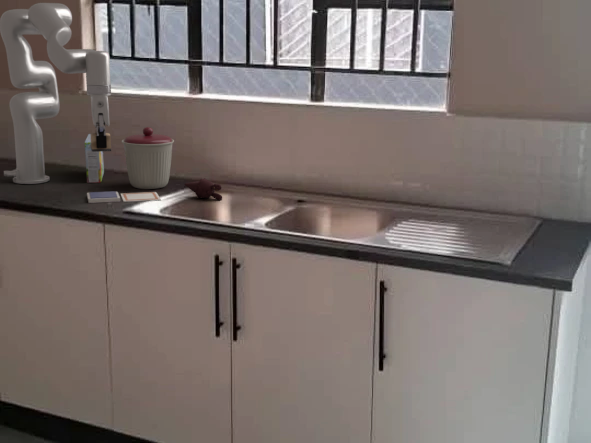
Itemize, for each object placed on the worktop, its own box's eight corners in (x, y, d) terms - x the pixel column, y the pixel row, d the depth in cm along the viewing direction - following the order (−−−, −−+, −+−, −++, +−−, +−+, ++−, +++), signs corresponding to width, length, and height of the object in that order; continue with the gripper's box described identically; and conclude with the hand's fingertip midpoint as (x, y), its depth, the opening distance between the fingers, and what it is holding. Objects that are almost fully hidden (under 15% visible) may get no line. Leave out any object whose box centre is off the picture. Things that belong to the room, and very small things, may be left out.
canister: (121, 182, 298) (119, 124, 293) (171, 180, 303) (170, 123, 298) (125, 192, 282) (123, 131, 276) (178, 190, 286) (177, 130, 281)
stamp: (92, 151, 264) (91, 129, 262) (91, 148, 270) (90, 127, 268) (111, 151, 266) (110, 129, 264) (109, 148, 271) (109, 127, 270)
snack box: (89, 172, 316) (87, 133, 313) (104, 172, 317) (103, 133, 314) (85, 183, 296) (83, 141, 292) (101, 183, 297) (100, 141, 293)
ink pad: (88, 202, 266) (88, 198, 265) (87, 196, 275) (86, 192, 275) (120, 201, 269) (120, 197, 268) (117, 195, 278) (117, 190, 277)
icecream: (177, 179, 274) (214, 188, 267) (190, 170, 280) (227, 179, 273) (179, 197, 277) (216, 207, 271) (192, 188, 283) (228, 197, 276)
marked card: (123, 202, 268) (123, 200, 268) (120, 194, 279) (120, 193, 279) (160, 200, 271) (160, 199, 271) (156, 192, 282) (156, 191, 282)
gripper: (112, 92, 256) (114, 150, 261) (108, 87, 272) (110, 142, 277) (88, 93, 254) (90, 151, 258) (85, 88, 270) (87, 142, 274)
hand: (100, 145), depth 267 cm, fingers closed on stamp, 6 cm apart
